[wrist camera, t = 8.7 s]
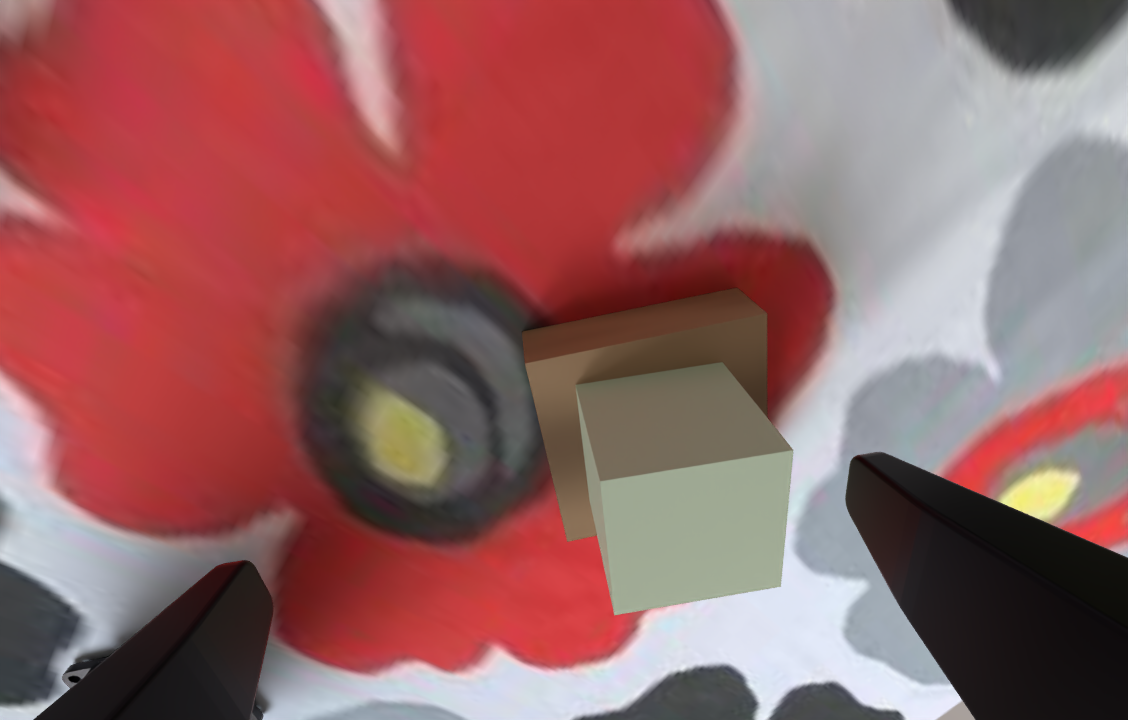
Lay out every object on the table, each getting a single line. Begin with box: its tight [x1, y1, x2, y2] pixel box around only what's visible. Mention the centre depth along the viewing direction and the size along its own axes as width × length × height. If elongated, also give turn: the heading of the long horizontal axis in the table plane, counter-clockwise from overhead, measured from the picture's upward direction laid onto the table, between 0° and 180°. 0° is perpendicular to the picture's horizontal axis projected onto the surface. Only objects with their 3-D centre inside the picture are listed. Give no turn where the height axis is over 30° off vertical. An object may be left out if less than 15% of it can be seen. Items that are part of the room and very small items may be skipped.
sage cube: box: [576, 362, 793, 615], centre depth 17 cm, size 5×5×5 cm
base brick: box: [522, 288, 767, 542], centre depth 21 cm, size 8×8×3 cm
